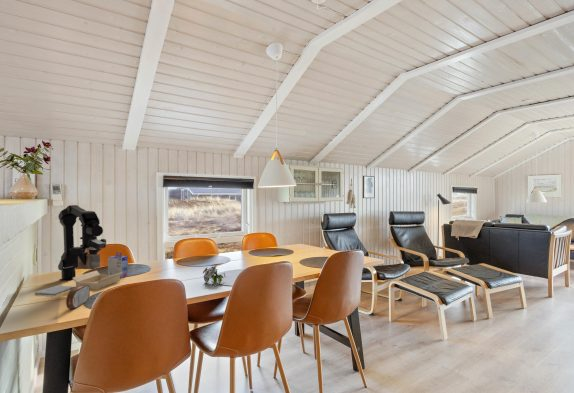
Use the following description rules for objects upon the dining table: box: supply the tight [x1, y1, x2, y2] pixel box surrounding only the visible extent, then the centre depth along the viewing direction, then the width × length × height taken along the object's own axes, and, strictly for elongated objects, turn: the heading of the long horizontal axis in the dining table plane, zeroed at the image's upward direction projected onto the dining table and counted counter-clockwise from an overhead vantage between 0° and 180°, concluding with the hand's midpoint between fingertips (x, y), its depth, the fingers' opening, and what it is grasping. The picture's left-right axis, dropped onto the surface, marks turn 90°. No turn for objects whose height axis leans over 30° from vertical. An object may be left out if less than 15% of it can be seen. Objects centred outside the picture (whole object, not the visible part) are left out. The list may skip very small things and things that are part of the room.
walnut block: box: [78, 253, 101, 270], centre depth 173 cm, size 9×5×7 cm, turn 79°
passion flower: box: [202, 264, 226, 286], centre depth 177 cm, size 11×11×12 cm
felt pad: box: [34, 285, 76, 297], centre depth 165 cm, size 12×12×1 cm
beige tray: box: [72, 269, 123, 290], centre depth 176 cm, size 18×16×6 cm
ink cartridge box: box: [107, 252, 129, 279], centre depth 192 cm, size 10×6×14 cm, turn 78°
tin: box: [65, 284, 91, 309], centre depth 144 cm, size 15×3×8 cm, turn 5°
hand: (88, 263), depth 173 cm, fingers closed on walnut block, 5 cm apart
